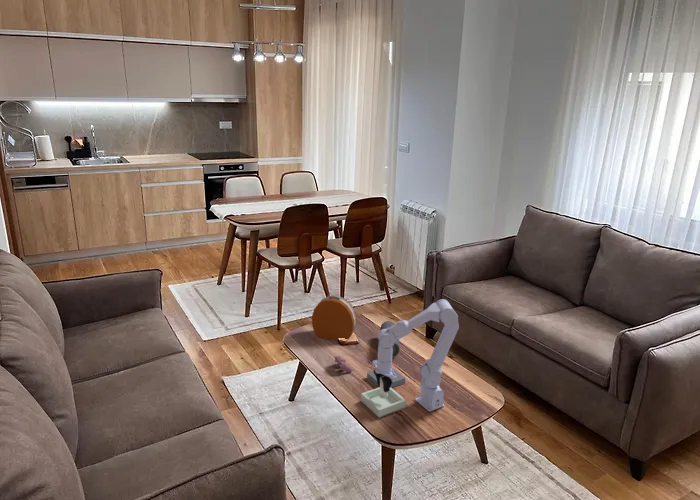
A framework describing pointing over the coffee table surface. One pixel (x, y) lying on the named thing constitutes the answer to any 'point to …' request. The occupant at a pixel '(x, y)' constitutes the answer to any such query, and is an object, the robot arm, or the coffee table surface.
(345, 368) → the video game controller
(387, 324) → the bluetooth speaker
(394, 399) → the parts tray
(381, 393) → the cylinder
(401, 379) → the grey square frame
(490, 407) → the coffee table surface
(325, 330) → the alarm clock
